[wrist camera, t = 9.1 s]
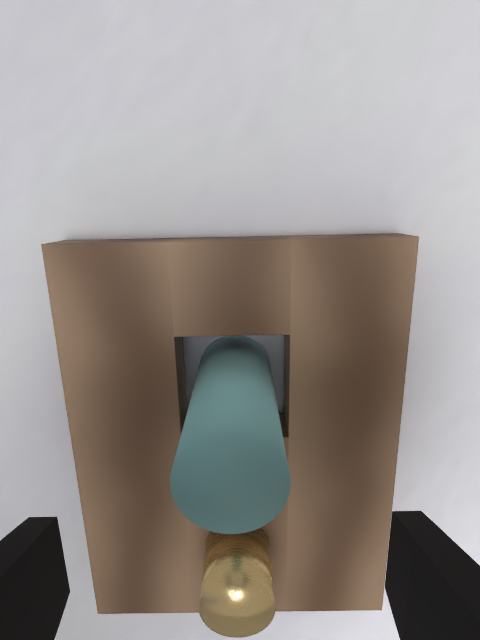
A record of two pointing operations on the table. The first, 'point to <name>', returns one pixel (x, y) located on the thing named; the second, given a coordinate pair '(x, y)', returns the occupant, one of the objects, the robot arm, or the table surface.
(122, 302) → the pin board
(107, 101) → the table surface
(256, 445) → the teal pin
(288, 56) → the table surface
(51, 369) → the table surface
